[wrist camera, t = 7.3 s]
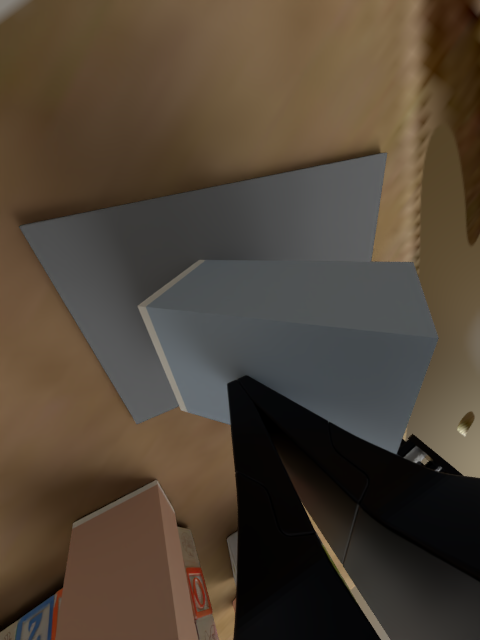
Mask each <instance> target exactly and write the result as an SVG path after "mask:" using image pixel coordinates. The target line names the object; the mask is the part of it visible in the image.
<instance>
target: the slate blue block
mask: <svg viewBox="0 0 480 640" xmlns="http://www.w3.org/2000/svg"><path fill="white" fill-rule="evenodd" d="M138 309H139V311H140V314H141V316H142V318H143V321H144V323H145V325H146V328H147V330H148V333H149V335H150V337H151V340H152V342H153V345H154V347H155V349H156V352H157V354H158V356H159V359H160V361H161V364H162V366H163V368H164V371H165V373H166V376H167V378H168V380H169V383H170V385H171V387H172V390H173V392H174V395H175V397H176V399H177V402H178V404H179V407H180V409H181V410H182V411H185V412H189V413H192V414H195V415H199V416H202V417H206V418H209V419H212V420H216V421H219V422H222V423H226V424H229V425H231V424H230V413H229V403H228V392H227V383H229V382H231V381H233V380H237V379H238V378H240V377H243V376H245V375H248V376H250V377H251V378H253V379H255V380H257V381H258V382H260V383H262V384H264V385H266V386H267V387H269V388H271V389H273V390H274V391H276V392H278V393H280V394H282V395H283V396H285V397H287V398H289V399H290V400H292V401H294V402H296V403H298V404H299V405H301V406H303V407H305V408H306V409H308V410H310V411H312V412H313V413H315V414H317V415H319V416H321V417H322V418H324V419H326V420H328V423H329V422H331V423H333V424H335V425H337V426H338V427H340V428H342V429H344V430H346V431H348V432H350V433H351V434H353V435H355V436H357V437H359V438H361V439H364V440H366V441H368V442H370V443H372V444H374V445H376V446H379V447H381V448H383V449H385V450H388V451H390V452H392V453H394V454H397V452H398V449H399V446H400V443H401V441H402V438H403V435H404V432H405V430H406V427H407V424H408V421H409V418H410V416H411V413H412V410H413V407H414V405H415V402H416V399H417V396H418V393H419V391H420V388H421V385H422V382H423V380H424V376H425V374H426V371H427V368H428V366H429V363H430V360H431V357H432V355H433V352H434V349H435V346H436V343H437V341H438V335H437V332H436V330H435V326H434V323H433V320H432V317H431V314H430V311H429V308H428V305H427V302H426V299H425V296H424V293H423V290H422V287H421V284H420V281H419V278H418V275H417V272H416V269H415V266H414V263H413V262H352V261H259V260H198V261H197V262H196V263H194V264H193V265H192V266H190V267H189V268H188V269H186V270H185V271H183V272H182V273H181V274H179V275H178V276H177V277H175V278H174V279H173V280H171V281H170V282H169V283H167V284H166V285H165V286H163V287H162V288H161V289H159V290H158V291H157V292H155V293H154V294H153V295H151V296H150V297H149V298H147V299H146V300H145V301H143V302H142V303H141V304H139V305H138Z"/></svg>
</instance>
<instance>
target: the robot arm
mask: <svg viewBox="0 0 480 640" xmlns="http://www.w3.org/2000/svg"><path fill="white" fill-rule="evenodd" d="M227 392H228V403H229V413H230V424H231V434H232V445H233V455H234V466H235V473H236V474H235V477H236V488H237V504H238V540H237V582H236V611H235V626H234V638H233V640H381V639H380V638H379V636H378V635H377V633H376V631H375V630H374V628H373V627H372V625H371V624H370V622H369V621H368V619H367V618H366V616H365V614H364V613H363V611H362V610H361V608H360V607H359V605H358V604H357V602H356V600H355V599H354V597H353V596H352V594H351V593H350V591H349V590H348V588H347V587H346V585H345V583H344V582H343V580H342V579H341V577H340V576H339V574H338V573H337V571H336V569H335V568H334V566H333V565H332V563H331V561H330V560H329V558H328V556H327V554H326V552H325V550H324V548H323V547H322V545H321V543H320V541H319V538H318V536H317V535H316V532H315V530H314V528H313V526H312V524H311V521H310V519H309V517H308V515H307V513H306V511H305V509H304V507H303V505H304V506H305V508H306V509H307V511H308V512H309V514H310V516H311V517H312V519H313V520H314V522H315V523H316V525H317V526H318V528H319V530H320V531H321V533H322V534H323V536H324V537H325V539H326V540H327V542H328V543H329V545H330V547H331V548H332V550H333V551H334V553H335V554H336V556H337V557H338V559H339V560H340V562H341V563H342V564H343V567H344V568H345V570H346V571H347V573H348V575H349V576H350V578H351V579H352V581H353V582H354V584H355V585H356V587H357V588H358V590H359V592H360V593H361V595H362V596H363V598H364V599H365V601H366V602H367V604H368V606H369V607H370V609H371V610H372V612H373V613H374V615H375V616H376V618H377V619H378V621H379V623H380V624H381V626H382V627H383V628H384V630H385V632H386V633H387V635H388V636H389V638H390V639H391V640H480V478H475V477H467V476H463V475H462V474H461V473H460V472H459V471H457V470H456V469H455V468H454V467H452V466H451V465H450V464H449V463H448V462H446V461H445V460H444V459H443V458H441V457H440V456H439V455H438V454H437V453H435V452H434V451H433V450H432V449H430V448H429V447H428V446H427V445H425V444H424V443H423V442H422V441H421V440H419V439H418V438H417V437H416V436H415V435H413V434H412V435H411V436H410V437H409V438H408V439H409V440H408V441H404V440H403V439H402V441H401V443H400V446H399V449H398V452H397V454H394V453H392V452H390V451H388V450H385V449H383V448H381V447H379V446H376V445H374V444H372V443H370V442H368V441H366V440H364V439H361V438H359V437H357V436H355V435H353V434H351V433H350V432H348V431H346V430H344V429H342V428H340V427H338V426H337V425H335V424H333V423H331V422H329V423H328V420H326V419H324V418H322V417H321V416H319V415H317V414H315V413H313V412H312V411H310V410H308V409H306V408H305V407H303V406H301V405H299V404H298V403H296V402H294V401H292V400H290V399H289V398H287V397H285V396H283V395H282V394H280V393H278V392H276V391H274V390H273V389H271V388H269V387H267V386H266V385H264V384H262V383H260V382H258V381H257V380H255V379H253V378H251V377H250V376H248V375H245V376H243V377H240V378H238V379H237V380H233V381H231V382H229V383H227ZM424 458H426V459H427V460H428V461H429V462H427V464H425V465H424V464H423V463H421V462H420V461H421V460H423V459H424ZM301 502H302V503H303V505H302V503H301Z"/></svg>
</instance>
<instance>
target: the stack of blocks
mask: <svg viewBox="0 0 480 640" xmlns="http://www.w3.org/2000/svg"><path fill="white" fill-rule="evenodd" d="M177 528H178V533H179V539H180V544H181V550H182V555H183V561H184V566H185V572H186V577H187V583H188V588H189V594H190V600H191V605H192V611H193V616H194V622H195V627H196V633H197V638H198V640H219V638H218V634H217V630H216V626H215V623H214V619H213V616H212V608H211V604H210V600H209V596H208V592H207V588H206V584H205V581H204V577H203V573H202V570H201V568H200V562H199V559H198V555H197V551H196V548H195V544H194V540H193V536H192V533H191V530H190V529H186V528H181V527H177ZM62 591H63V588H62V589H60V590H59V591H58V592H56V594H55V595H53V596H51V597H50V598H48V599H47V600H46V601H44V602H43V603H41V604H40V605H38V606H37V607H36V608H34V609H33V610H31V611H30V612H28V613H27V614H26V615H24V616H23V617H21V618H20V619H19V620H18V621H16V622H14V623H13V624H11V625H10V626H9V627H7V628H6V629H4V630H3V631H1V632H0V640H55V637H56V630H57V624H58V617H59V611H60V604H61V598H62Z"/></svg>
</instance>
